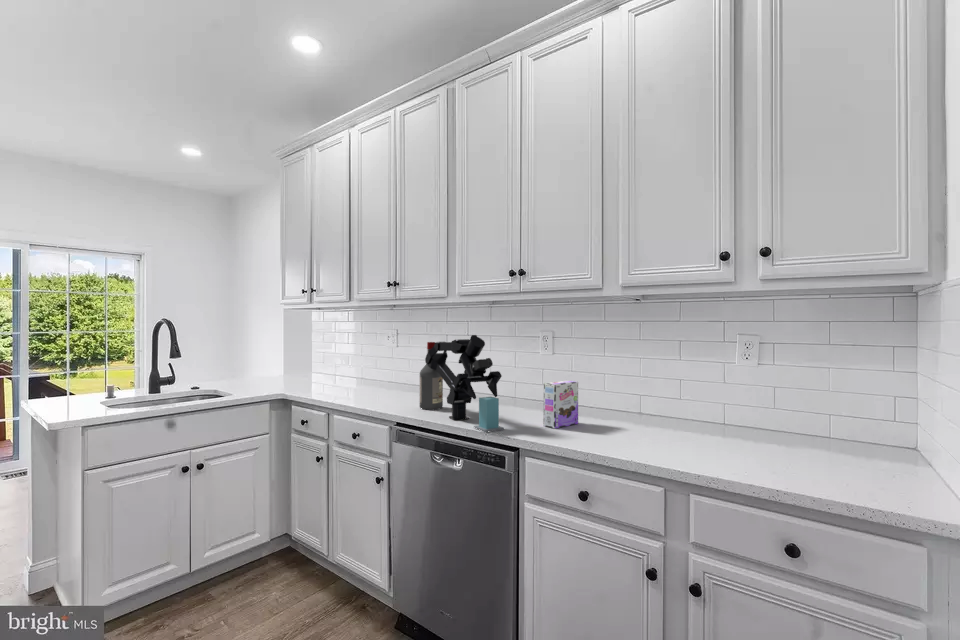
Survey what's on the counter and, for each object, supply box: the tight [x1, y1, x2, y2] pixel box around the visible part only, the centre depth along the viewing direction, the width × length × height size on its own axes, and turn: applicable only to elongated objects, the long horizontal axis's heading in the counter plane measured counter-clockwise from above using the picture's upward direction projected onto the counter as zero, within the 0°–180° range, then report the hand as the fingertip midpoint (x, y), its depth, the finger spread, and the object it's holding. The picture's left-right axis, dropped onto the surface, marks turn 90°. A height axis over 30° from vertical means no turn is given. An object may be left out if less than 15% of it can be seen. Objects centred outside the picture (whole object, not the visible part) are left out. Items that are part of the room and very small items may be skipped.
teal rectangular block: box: [478, 396, 500, 429], centre depth 171 cm, size 5×5×10 cm
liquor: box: [419, 341, 444, 411], centre depth 214 cm, size 9×9×30 cm
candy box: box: [542, 380, 579, 430], centre depth 178 cm, size 14×6×16 cm, turn 129°
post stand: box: [473, 424, 505, 433], centre depth 171 cm, size 8×8×5 cm
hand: (486, 397), depth 173 cm, fingers open, 9 cm apart
